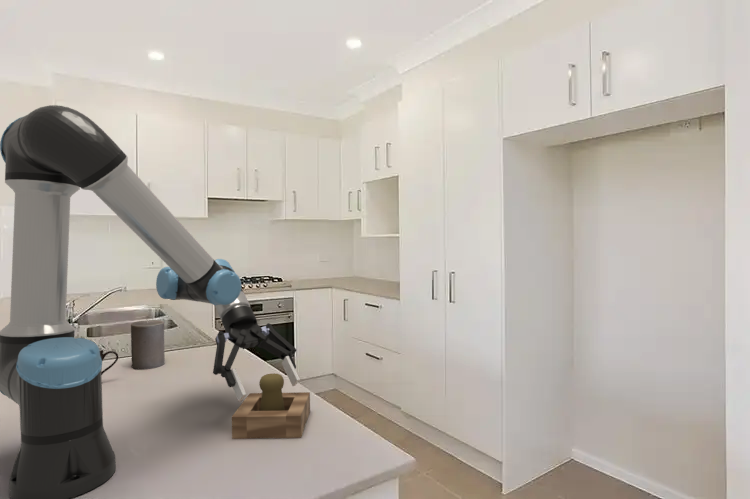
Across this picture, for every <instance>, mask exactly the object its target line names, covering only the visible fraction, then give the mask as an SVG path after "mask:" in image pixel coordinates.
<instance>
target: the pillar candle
mask: <svg viewBox="0 0 750 499" xmlns="http://www.w3.org/2000/svg"><path fill="white" fill-rule="evenodd" d="M130 338H131V340H130V344H131V345H130V350H131V351H130V352H131V354H130V356H131V357H130V358H131V368H132V369H134V370H152V369H156V368H160V367H162V366H164V365H165V360H166V359H165V354H166V353H165V322H164V321H163V320H160V319H159V320H154V319H152V320H149V319H146V320H141V321H140V320H139V321H136V322H132V323H131V324H130Z"/></svg>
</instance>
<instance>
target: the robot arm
mask: <svg viewBox="0 0 750 499" xmlns="http://www.w3.org/2000/svg"><path fill="white" fill-rule="evenodd" d="M0 154H1V155H0V156H1V157H2V160H3V162H4V163H5V166H4V167H5V169H4V183H5V184H6V185H7V186H8V187H9V188H10V189H11V190H12V191H13V193H14V209H13V210H14V211H13V231H12V232H13V236H12V237H13V238H12V261H11V262H12V264H11V266H12V267H11V281H10V282H11V284H10V287H11V288H10V289H11V290H10V313H9V322H8V324H7V325H6V326H4V327H3V328H2V329H0V393H1V394H2V395H3V396H6V398H8V399H10V400H12V401H13V402H14V403H15V404H17V405H18V408H19V423H20V424H19V425H20V426H19V428H20V447H19V449H18V453H17V456H16V459H15V462H14V465H13V467H12V471H11V474H10V476H9V477H10V478H9V481H8V489H9V494H8V495H9V497H10V499H72V498H74V497H77V496H80V495H83V494H85V493H87V492H89V491H92V490H94V489H95V488H97V487H100V486H101V485H102V484H104V483H105V482H107V481H108V480H109V479H110V478H111V477H112V476H113V475H114V474H115V472H116V469H117V461H116V460H117V458H116V453H115V451H114V450H113V447H112V445H111V442H110V439H109V437H108V435H107V433H106V431H105V428H104V419H103V417H104V416H103V412H104V410H103V386H102V385H103V381H102V378H103V377H102V375H101V372H102V370H101V368H102V367H103V361H102V360H101V357H100V350H99V347H100V346H98V344H97V343H95V342H94V341H92V340H91V339H88V338H83V337H77V338H76V337H75V326H73V325H72V324H71V323H69V322H68V320H67V319H66V317H67V295H68V294H67V293H68V292H67V291H68V272H69V271H68V268H69V264H68V263H69V242H70V241H69V240H70V218H71V217H70V214H71V213H70V212H71V198H72V196H73V195H74V194H76V193H77V192H79V190H80V189H82V190H85V191H92V192H93V193H94V195H96V196H97V197H98V199H100V200H101V201H102V202H103V203H104V204H105V205H106V206H107V207H108V208H109V209H110V210H111V211H112V212H113V213H114V214H115V216H118V218H120V220H121V221H122V222H124V223H125V225H126V226H128V228H129V229H131V231H132V232H134V233H135V234H136V236H138V237H139V238H140V239H141V241H143V242H144V243H145V245H146V246H148V247H149V248H150V249H151V251H153V252H154V253H155V254H156V255H157V256H158V257H159V259H161V260H162V262H164V263H165V264H166V265H167V266H165V267H162V268H161V269H160V270H159V272H158V274H157V276H156V282H155V285H156V286H155V287H156V292H157V294H158V296H159V297H160V298H161V299H162V300H163V299H164V300H173V301H176V300H186V301H187V300H188V301H192V302H197V303H198V302H199V303H206V304H210V305H214V307H215V309H216V311H217V313H218V314H217V315H218V316H219V319H220V320H221V324H222V326H223V328H224V330H225V332H224V331H221V330H220V331H218V333H217V334H216V336H215V339H214V340H215V344H216V349H215V357H214V363H213V370H212V374H213V375H215V376H217V375H219V374H220V376H221V377H222V378H225V381H226V384H227V386H228V388H232V389H233V392H234V394H235V397H236V399H237V402H239V403H240V402H243V401H244V400H243V399H245V398H246V396H247V393H246V390H245V388H244V386H243V382H242V381H241V378H240V376H239V374H238V372H237V370H236V369H237V368H232V366H233V363H234V361H235V359H236V357H237V354H238V352H239V350H240V349H242V350H246V349H248V348H256V347H258V348H259V349H261V348H262V349H263V350H265V351H267V352H269V353H270V354H272V355H274V356H275V357H277V358H279V359H280V360H282V361H281V365H282V367H283V370H284V372H285V373H286V375H287V378H288V380H289V382H290V383H291V386H292V387H295V386H297V384H298V383H299V382H300V380H301V378H300V377H299V375H298V373H297V370H296V369H297V364H296V363H295V361H294V359H293V357H294V355H295V354H296V352H297V349H296V347H294V345H292V344H291V343H290V342H289V341H288V340H287V339H286V338H284V337H283V336H282V335H281V334H280V333H278V332H277V330H276V329H274V327H273V325H272V324H271V323H270V322H269V323H266V325H264V326H262V327H261V326H260V325H259V324H258V321H257V317H256V315H255V313H254V311H253V309H252V307H251V304H250V302H249V299H248V298H247V296H246V294H245V293H244V290H243V288H242V281H241V278H240V276H239V275H238V274H237V273H236V272H235V270H234V269H233V267H232V266H231V264H230V262H228V261H227V260H226V259H223V258H217V259H214V258H213V257H212V256H211V255H210V253H208V251H206V249H205V248H204V247H203V246H202V245H201V244H200V242H198V241H197V239H196V238H194V236H193V235H192V234H191V233H190V232H189V230H188V229H186V228H185V226H184V225H182V223H181V222H180V221H179V220H178V219H177V218H176V216H174V214H173V213H172V212H171V211H170V210H169V209H168V208H167V207H166V205H165V204H164V203H163V202H162V201H161V200H160V199H159V197H157V196H156V195H155V194H154V192H153V191H152V190H151V189H150V188H149V187H148V186H147V185H146V184H145V182H143V180H142V179H141V178H140V177H139V176H138V175H137V173H136V172H134V170H133V169H132V168H131V167H130V166H129V165H128V162H129V161H128V159H129V157H128V155H127V154H126V153H125V152H124V151H123V150H122V149H121V148H120V147H119V145H118V144H117V143H115V141H114V140H113V139H112V138H111V137H110V136H109V135H108V133H106V132H105V131H104V130H103V129H102V128H101V127H100V126H99V125H98V124H97V123H96V122H95V121H93V119H91V118H89V117H88V116H86V115H85V114H84V113H82V112H80V111H78V110H76V109H75V108H74V109H73V108H71V107H68V106H65V105H58V104H57V105H55V104H53V105H49V104H48V105H46V106H41V107H38V108H36V109H34V110H32V111H30V112H29V113H28V114H26V115H24V116H21V117H19V118H16V119H15V120H14V121H13V122H11V123H9V124H8V126H7V127H6V129H5V130H4V131H3V133H2V135H1V138H0ZM260 340H261V341H260ZM227 341H229V342H231V343H232V344H233V346H232V348H231V350H230V353H229V355H228V357H227V360H226V362H225V364H224V365H223V362H224V356H225V348H226V343H227Z"/></svg>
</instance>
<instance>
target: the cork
mask: <svg viewBox="0 0 750 499" xmlns="http://www.w3.org/2000/svg"><path fill="white" fill-rule="evenodd" d="M258 384H259V385H258V386H259V388H260V390H261V393H262V398H261V406H260V411H285V409H284V403H283V396H282V393H283V391H282V390H283V388H284V385H285V379H284V377H283V376H282V374H279V373H274V372H273V373H266V374H264V375H262V376H261V377H260V379H259V383H258Z"/></svg>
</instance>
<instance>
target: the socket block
mask: <svg viewBox="0 0 750 499" xmlns="http://www.w3.org/2000/svg"><path fill="white" fill-rule="evenodd" d="M282 396H283V403H284V409H285V411H260V406H261V398H262V392H249V393H248V394H247V395H246V396H245V398H244V400H242V403H241V404H240V405H239V407H238V408H237V409H236V410H235V412H234V413H233V414H232V416H231V438H232V440H238V439H239V440H240V439H245V440H246V439H294V438H295V439H296V438H297V439H298V438H299V439H300V438H302V436H303V433H304V431H305V427H306V424H307V422H308V418H309V416H310V413H311V392H309V391H308V392H307V391H306V392H303V391H302V392H282Z"/></svg>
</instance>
